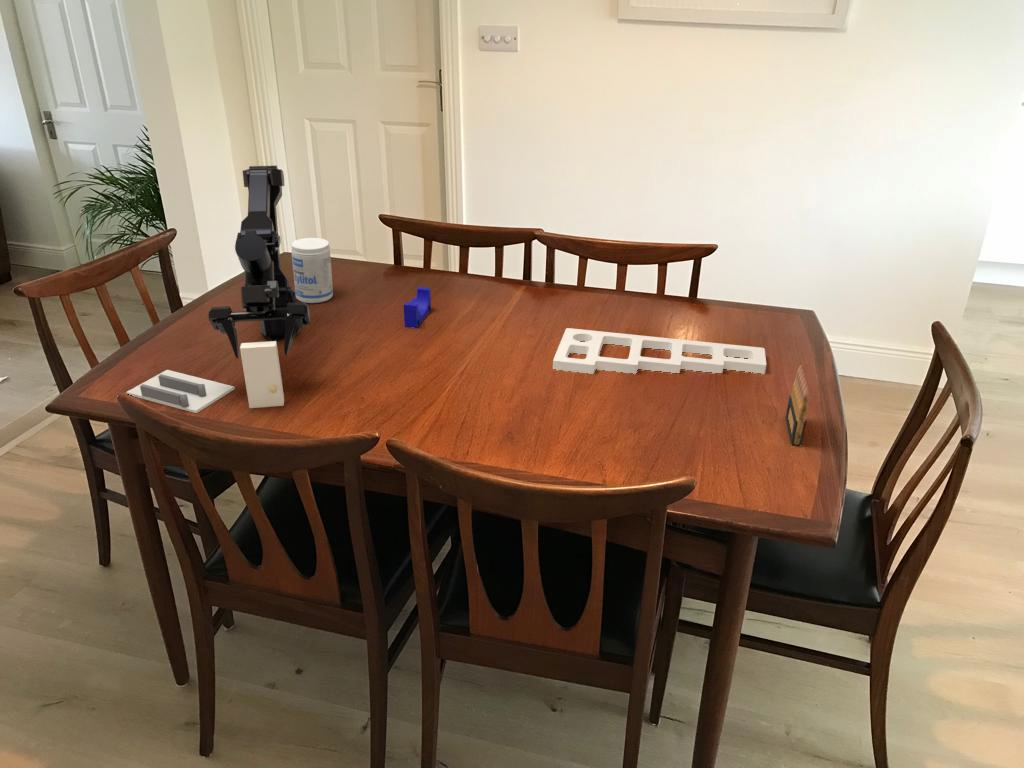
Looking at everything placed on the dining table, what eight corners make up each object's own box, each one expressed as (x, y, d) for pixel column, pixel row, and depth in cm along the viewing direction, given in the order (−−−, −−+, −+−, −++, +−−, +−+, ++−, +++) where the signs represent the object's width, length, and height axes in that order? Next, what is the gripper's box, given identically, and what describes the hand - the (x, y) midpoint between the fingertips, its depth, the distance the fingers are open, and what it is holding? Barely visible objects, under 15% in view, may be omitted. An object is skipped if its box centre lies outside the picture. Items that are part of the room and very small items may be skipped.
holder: (762, 358, 184) (764, 347, 183) (766, 395, 168) (768, 384, 167) (565, 338, 192) (566, 327, 191) (552, 371, 177) (552, 360, 175)
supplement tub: (291, 303, 208) (285, 248, 201) (301, 290, 216) (295, 236, 209) (329, 305, 207) (324, 249, 200) (337, 291, 216) (333, 237, 209)
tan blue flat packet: (785, 417, 160) (795, 362, 154) (795, 418, 159) (806, 363, 154) (791, 445, 150) (802, 388, 145) (801, 446, 150) (813, 389, 144)
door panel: (250, 402, 162) (241, 343, 156) (284, 399, 163) (276, 341, 157) (248, 411, 159) (239, 351, 153) (283, 408, 160) (274, 348, 154)
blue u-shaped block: (414, 308, 206) (413, 286, 204) (431, 310, 206) (430, 288, 203) (398, 327, 196) (397, 304, 193) (416, 329, 195) (415, 305, 192)
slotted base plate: (167, 372, 173) (165, 360, 172) (234, 389, 167) (232, 376, 166) (126, 394, 164) (123, 382, 163) (196, 413, 158) (193, 400, 157)
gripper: (201, 268, 154) (202, 345, 150) (302, 263, 157) (306, 338, 153) (214, 292, 165) (215, 365, 160) (308, 287, 168) (312, 358, 163)
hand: (261, 356), depth 159 cm, fingers open, 9 cm apart
